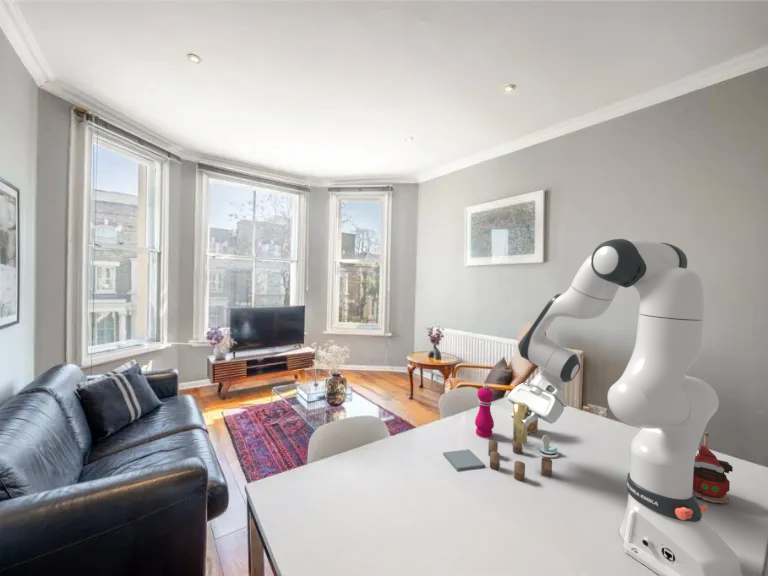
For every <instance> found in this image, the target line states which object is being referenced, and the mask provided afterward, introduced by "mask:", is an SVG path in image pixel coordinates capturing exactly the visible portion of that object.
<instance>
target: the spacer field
mask: <svg viewBox="0 0 768 576" xmlns="http://www.w3.org/2000/svg"><path fill="white" fill-rule="evenodd" d="M498 445H499V443H498V441H496V440H494V439H493V440H492V439H490V440H488V453H487V454H488V456H489V468H490V469H491V470H493V469H494V470H493V471H499V470H500V462H501V453H500V452H498V450H499V448H498ZM512 452H513V453H514V454H516V455H521V454H523V444H520V443H516V442H515V441H514V440H513V439H512ZM540 463H541V464H540V465H541V467H540V469H541V471H540V473H541V474H542V476H544V477H546V478H547V477H548V478H550V477H552V476H553V459H552V458H548V457H544V456H542V457H541V462H540ZM513 469H514V471H513V478H514V480H516V481H518V480H519V481H518V482H524V481H525V478H526V477H525V476H526V473H525V472H526V464H525V463H524V462H523V461H520V460H519V461H518V460H516V461H514V467H513Z"/></svg>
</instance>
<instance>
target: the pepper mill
mask: <svg viewBox="0 0 768 576" xmlns="http://www.w3.org/2000/svg"><path fill="white" fill-rule="evenodd" d="M476 395H477V398H478V404H479V408H478V412H477V415H476V416H475V420H474V424H475V425H474V426H475V427H476V429H475V434H476V435H477V436H479V437H481V438H485V439H486V438H487V439H489V438H492V437H493V428H494V427H495V423H494V418H493V416H492V412H491V406H492V402H493V401H492V400H493V398H494V392H493V391H492V390H491V389H490V388H488V384H483V385H482V387H481V388H479V389H478V390H477V394H476Z"/></svg>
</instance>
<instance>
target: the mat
mask: <svg viewBox="0 0 768 576" xmlns="http://www.w3.org/2000/svg"><path fill="white" fill-rule="evenodd" d="M442 453H443V454H442V455H443V457H445V459H446V460H447V461H448V462H449V463H450V465H452V467H453V468H454V469H455V471H457V472H458V471H465V470H471V469H472V470H473V469H478V468H479V467H480V468H485V467H486V465H485V463H484V462H483V461H482V460H481V459H480V458H479V457H477V456H476V454H475V453H473V452H472V451H471V449H462V450H454V451H453V450H451V451H446V452H442ZM480 468H479V469H480Z"/></svg>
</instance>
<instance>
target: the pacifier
mask: <svg viewBox="0 0 768 576" xmlns="http://www.w3.org/2000/svg"><path fill="white" fill-rule="evenodd" d="M541 441H542V444H543V446H541V447H540V446H538V445H535V448H536V449H537V450H539V451H540V453H539V454H540V456H542V457H546V458H549V459H554V458H558V457H559V456H560V455H559V453H557V451H558V447H557V446H556V445H555V444H551V437H550V435H548V434H545V435H543V436H542V438H541ZM552 454H554V455H552Z"/></svg>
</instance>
